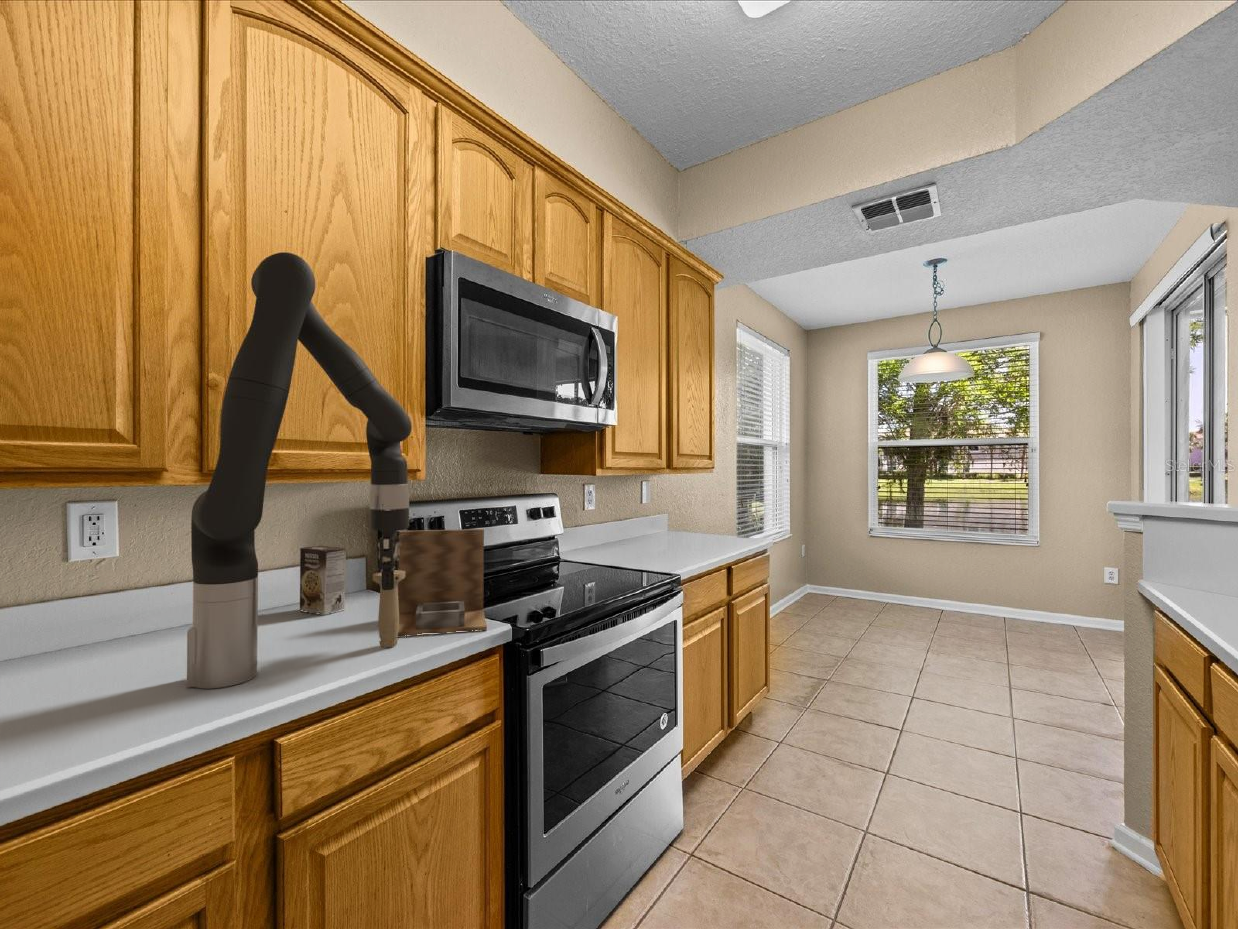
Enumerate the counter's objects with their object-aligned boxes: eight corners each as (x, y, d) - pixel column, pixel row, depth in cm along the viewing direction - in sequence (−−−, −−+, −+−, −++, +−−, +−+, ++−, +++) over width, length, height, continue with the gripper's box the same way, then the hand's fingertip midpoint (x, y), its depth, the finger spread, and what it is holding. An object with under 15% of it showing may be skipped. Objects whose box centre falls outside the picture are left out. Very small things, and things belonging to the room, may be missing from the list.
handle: (409, 644, 118) (410, 571, 118) (382, 652, 113) (383, 576, 113) (394, 640, 121) (395, 569, 121) (367, 648, 115) (367, 574, 115)
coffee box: (298, 612, 143) (298, 547, 143) (320, 606, 149) (321, 544, 149) (324, 616, 139) (324, 550, 139) (346, 610, 145) (346, 546, 145)
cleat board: (391, 637, 122) (392, 539, 122) (399, 615, 141) (400, 530, 141) (486, 630, 128) (487, 537, 128) (482, 610, 146) (483, 528, 146)
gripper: (374, 504, 122) (374, 579, 122) (364, 509, 109) (365, 594, 109) (411, 503, 124) (411, 577, 125) (406, 508, 111) (407, 591, 111)
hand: (390, 585), depth 117 cm, fingers open, 8 cm apart
